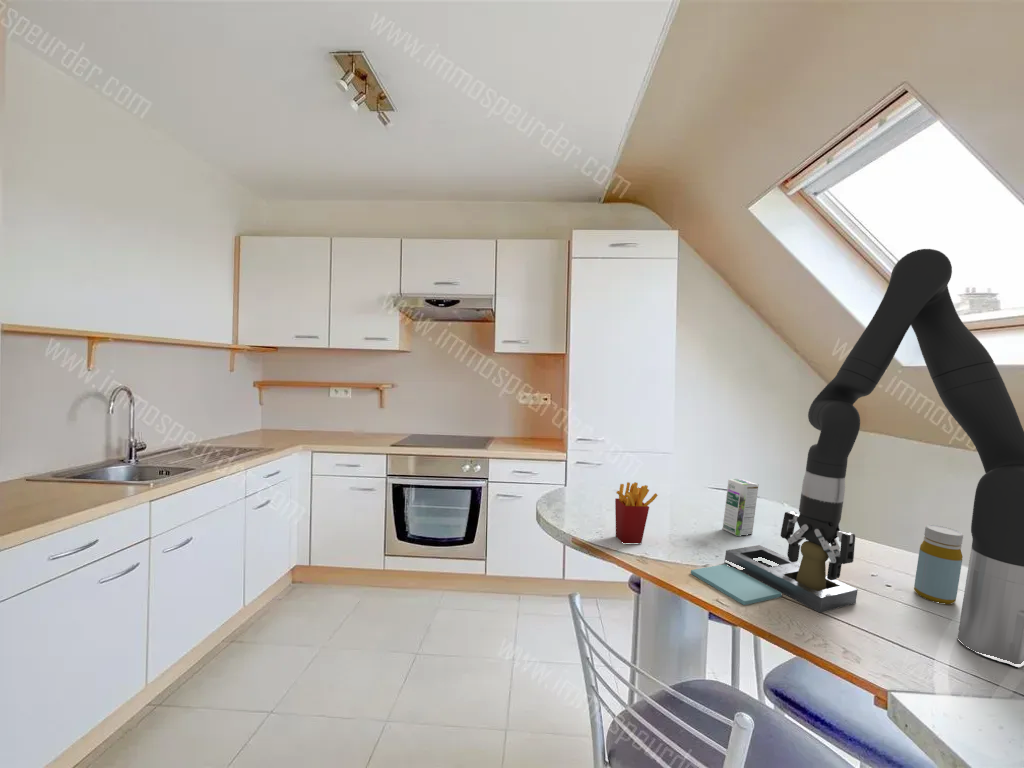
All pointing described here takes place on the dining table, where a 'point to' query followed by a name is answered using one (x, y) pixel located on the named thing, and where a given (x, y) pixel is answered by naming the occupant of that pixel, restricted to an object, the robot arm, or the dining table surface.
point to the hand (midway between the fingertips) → (811, 569)
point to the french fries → (631, 513)
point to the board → (736, 584)
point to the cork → (813, 566)
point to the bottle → (939, 564)
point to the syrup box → (740, 507)
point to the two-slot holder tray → (791, 579)
